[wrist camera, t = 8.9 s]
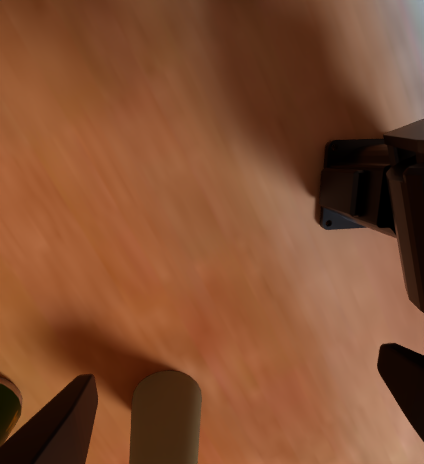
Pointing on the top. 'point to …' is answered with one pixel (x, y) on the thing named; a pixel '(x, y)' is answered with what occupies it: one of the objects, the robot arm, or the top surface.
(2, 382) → the beer can
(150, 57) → the top surface
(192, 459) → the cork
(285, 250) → the top surface
